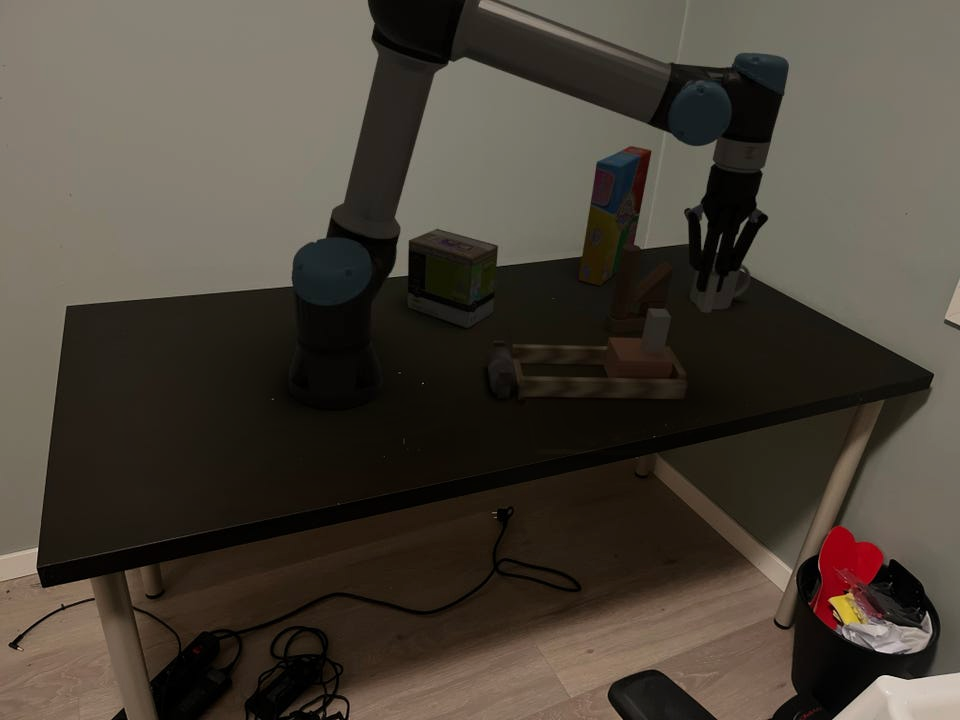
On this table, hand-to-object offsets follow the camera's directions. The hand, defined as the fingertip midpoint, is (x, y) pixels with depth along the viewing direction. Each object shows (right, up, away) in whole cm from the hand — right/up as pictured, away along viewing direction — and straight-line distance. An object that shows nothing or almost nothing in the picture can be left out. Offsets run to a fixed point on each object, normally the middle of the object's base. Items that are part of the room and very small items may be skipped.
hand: (703, 308), depth 118 cm
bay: (-20, -12, +6) cm, 24 cm away
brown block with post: (-10, -12, +6) cm, 17 cm away
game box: (-7, +13, +51) cm, 53 cm away
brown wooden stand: (-7, -3, +24) cm, 25 cm away
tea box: (-43, +1, +27) cm, 51 cm away
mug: (+15, +4, +40) cm, 43 cm away
